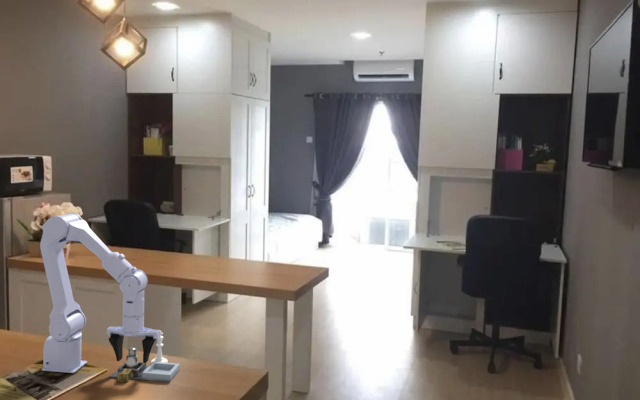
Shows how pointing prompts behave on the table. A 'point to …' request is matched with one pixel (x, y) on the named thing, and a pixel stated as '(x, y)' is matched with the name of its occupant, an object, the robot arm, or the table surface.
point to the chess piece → (159, 350)
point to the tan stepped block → (125, 375)
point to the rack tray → (161, 371)
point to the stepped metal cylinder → (132, 359)
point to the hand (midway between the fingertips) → (132, 360)
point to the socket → (136, 373)
